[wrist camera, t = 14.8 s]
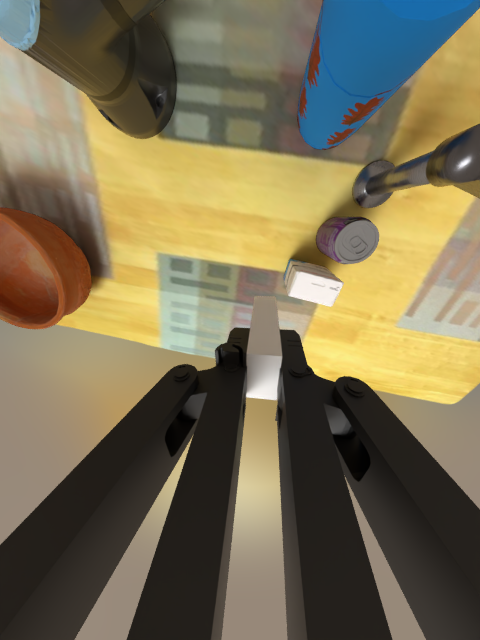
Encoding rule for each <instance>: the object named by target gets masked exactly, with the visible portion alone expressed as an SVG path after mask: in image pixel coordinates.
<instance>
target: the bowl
mask: <svg viewBox="0 0 480 640" xmlns="http://www.w3.org/2000/svg"><path fill="white" fill-rule="evenodd" d="M90 273H91V270H90V267H89V264H88V261H87V259H86V257H85V255H84V254H83V252H82V250H81V249H80V248H79V247H78V246H77V245H76V244H75V242H74V241H73V240H72V239H71V238H70V237H69V236H68V235H67V234H66V233H65V232H64V231H63V230H61V229H60V228H58V227H57V226H56V225H55V224H53V223H52V222H50V221H48V220H46V219H43V218H41V217H39V216H36V215H34V214H31V213H27V212H23V211H19V210H15V209H9V208H0V319H1V320H3V321H5V322H8V323H10V324H12V325H15V326H18V327H22V328H28V329H44V328H48V327H50V326H53V325H55V324H56V323H58V322H59V321H60V320H61V319H62V317H63V316H65V315H68V314H71V313H73V312H74V311H75V310H77V309H78V308H79V307H80V306H81V305H82V304H83V303H84V302H85V301H86V299H87V298H88V296H89V292H90V288H91V276H90Z"/></svg>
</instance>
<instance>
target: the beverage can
mask: <svg viewBox="0 0 480 640" xmlns="http://www.w3.org/2000/svg"><path fill="white" fill-rule="evenodd" d="M378 241H379V232H378V229H377V227H376V226H375V225H374V224H373V223H372V222H371V221H370V220H368V219H366V218H363V217H335V218H332V219H329V220H328V221H326V222H325V223H324V224H323V225H322V226H321V227H320V229H319V230H318V232H317V236H316V244H317V247H318V249H319V250H320V251H321V252H322V253H324V254H325V255H327V256H329V257H330V258H332V259H333V260H335V261H337V262H339V263H342V264H353V263H358V262H361V261H363V260H365V259H367V258H368V257H369V256H370V255H371V254H372V253H373V252H374V250H375V249H376V247H377V245H378Z"/></svg>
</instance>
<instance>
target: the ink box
mask: <svg viewBox="0 0 480 640" xmlns="http://www.w3.org/2000/svg"><path fill="white" fill-rule="evenodd" d="M284 281H285V285H286V289H287V292H288V296H292V297H296V298H299V299H303V300H307V301H311V302H315V303H318V304H322V305H326V306H330V307H331V306H332V305H333V304H334V302H335V300H336V298H337V296H338V294H339V292H340V290H341V288H342V286H343V284H344V283H343V282H342V281H341V280H340V279H339V278H337V277H336V276H335V275H334V274H333V273H332V272H330V271H329V270H328V269H327V268H326V267H323V266H319V265H315V264H311V263H307V262H302V261H298V260H294V259H289V262H288V265H287V268H286V271H285V275H284Z"/></svg>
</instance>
